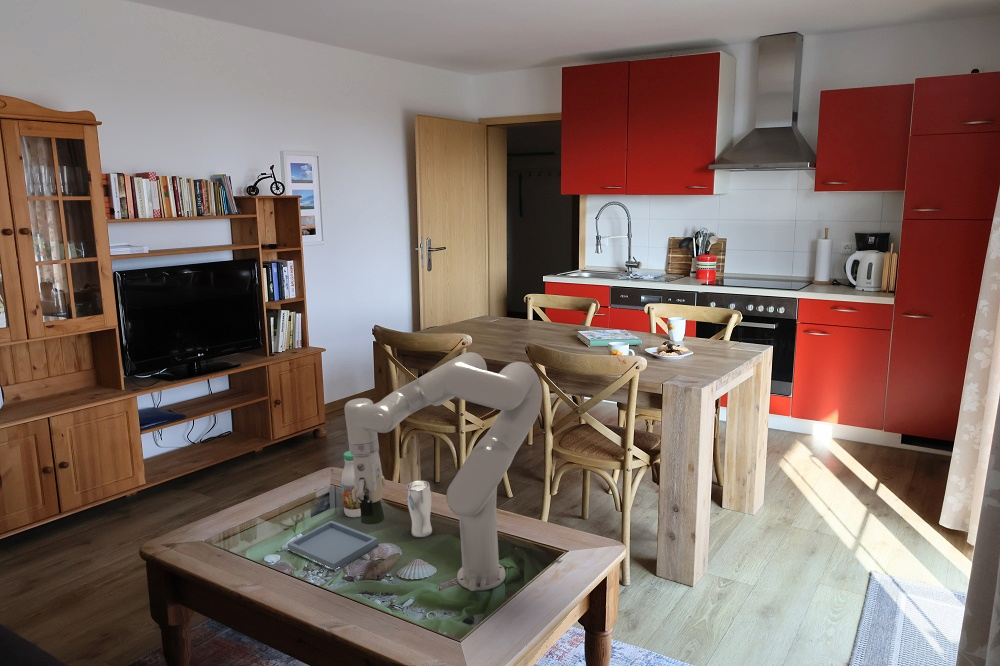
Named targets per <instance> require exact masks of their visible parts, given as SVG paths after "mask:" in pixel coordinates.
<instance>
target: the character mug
mask: <svg viewBox="0 0 1000 666" xmlns="http://www.w3.org/2000/svg"><path fill="white" fill-rule="evenodd" d="M376 482H377V489H376V490H375V491H374V492H372V491H371V501H372V504H373V512H374V514H373V516H360V523H362V524H365V525H377V524H380V523H382V522H383V521H384V520H385V514H384V510H383V506H382V502H381V501H382V499H383V497H384V487H386V480H385V476H384V475H383V476H382V480H381V474H379V476H378V478H377V479H376ZM354 484H355V477H354ZM354 488H355V489H353V490H352V498H353V501H357V500H358V501H359V496H358V491H357V489H356V484H355V486H354ZM358 489H359V488H358ZM364 490H368V488H367V486H366V483H365V489H364ZM364 494H365V495H366V496H367V497H368V493H364Z"/></svg>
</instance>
